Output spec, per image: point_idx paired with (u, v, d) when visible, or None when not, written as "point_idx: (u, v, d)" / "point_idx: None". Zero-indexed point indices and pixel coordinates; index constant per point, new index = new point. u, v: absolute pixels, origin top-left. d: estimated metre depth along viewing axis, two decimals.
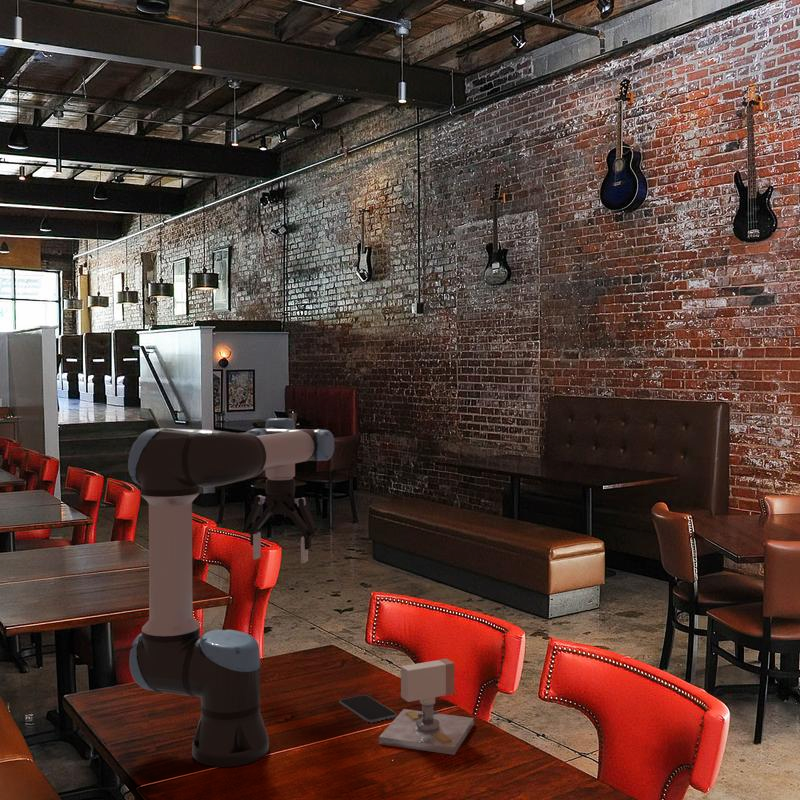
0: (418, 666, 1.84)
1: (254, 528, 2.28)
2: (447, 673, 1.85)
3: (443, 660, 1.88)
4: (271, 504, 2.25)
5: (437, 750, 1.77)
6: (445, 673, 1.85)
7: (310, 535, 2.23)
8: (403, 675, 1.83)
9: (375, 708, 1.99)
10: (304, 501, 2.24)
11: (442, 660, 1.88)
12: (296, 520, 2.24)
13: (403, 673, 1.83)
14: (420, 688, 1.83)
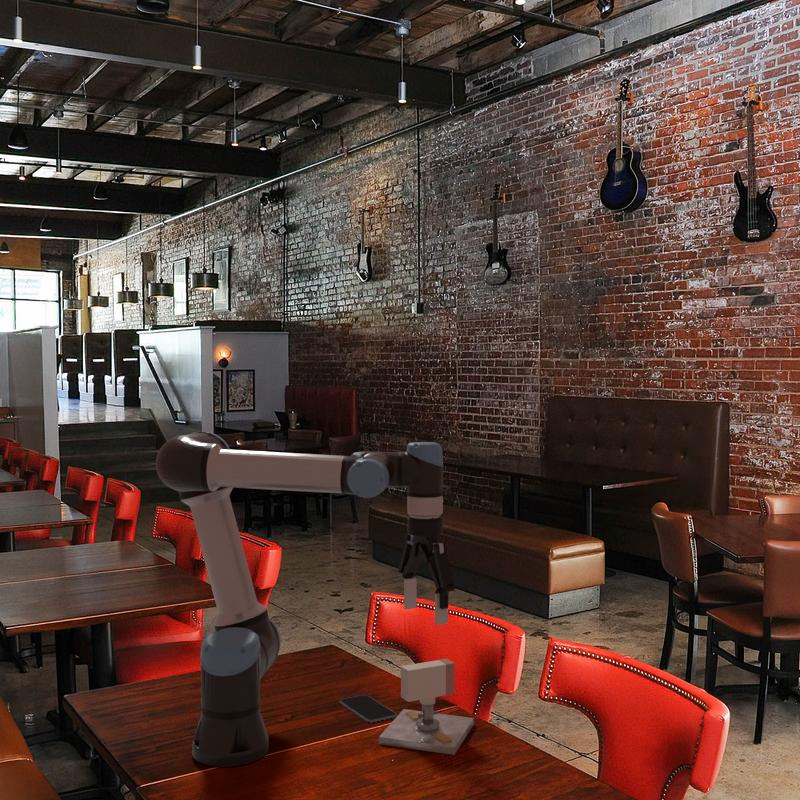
0: (418, 666, 1.84)
1: (405, 572, 1.91)
2: (447, 673, 1.85)
3: (443, 660, 1.88)
4: (413, 546, 1.86)
5: (437, 750, 1.77)
6: (445, 673, 1.85)
7: (443, 592, 1.78)
8: (403, 675, 1.83)
9: (375, 708, 1.99)
10: (441, 547, 1.79)
11: (442, 660, 1.88)
12: (432, 570, 1.80)
13: (403, 673, 1.83)
14: (420, 688, 1.83)
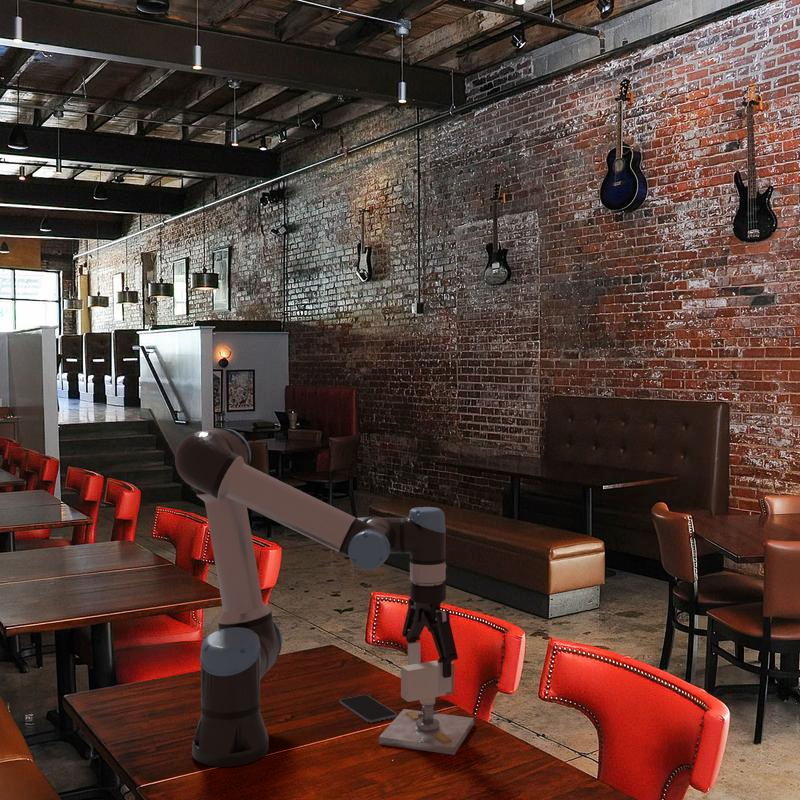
0: (418, 666, 1.84)
1: (408, 636, 1.91)
2: None
3: None
4: (416, 612, 1.86)
5: (437, 750, 1.77)
6: None
7: (446, 661, 1.77)
8: (403, 675, 1.83)
9: (375, 708, 1.99)
10: (444, 615, 1.79)
11: None
12: (435, 638, 1.80)
13: (403, 673, 1.83)
14: (420, 688, 1.83)
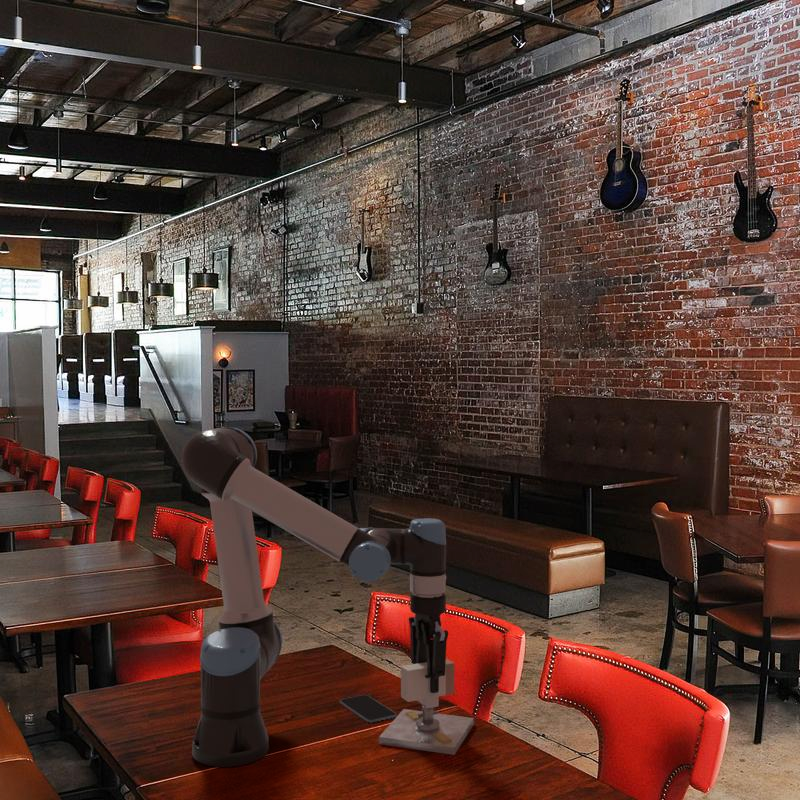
0: (418, 666, 1.84)
1: (417, 661, 1.87)
2: (447, 673, 1.85)
3: None
4: (416, 624, 1.85)
5: (437, 750, 1.77)
6: (445, 673, 1.85)
7: (433, 678, 1.82)
8: (403, 675, 1.83)
9: (375, 708, 1.99)
10: (442, 636, 1.79)
11: None
12: (428, 653, 1.82)
13: (403, 673, 1.83)
14: (420, 688, 1.83)
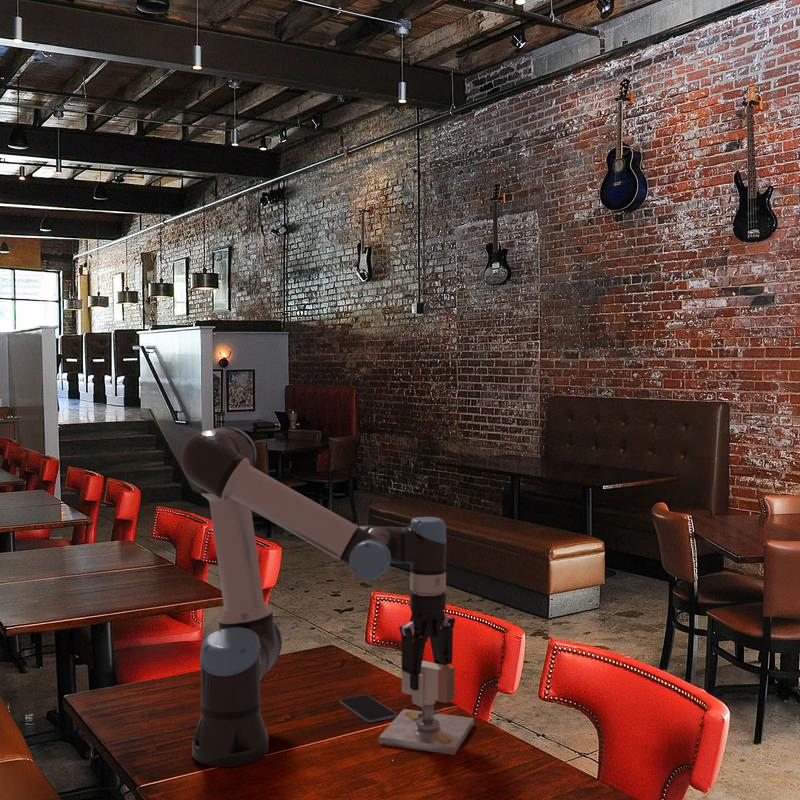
0: None
1: None
2: (439, 678, 1.82)
3: (447, 666, 1.84)
4: None
5: (437, 750, 1.77)
6: (437, 678, 1.82)
7: None
8: None
9: (375, 708, 1.99)
10: (403, 631, 1.81)
11: (445, 666, 1.84)
12: None
13: None
14: None
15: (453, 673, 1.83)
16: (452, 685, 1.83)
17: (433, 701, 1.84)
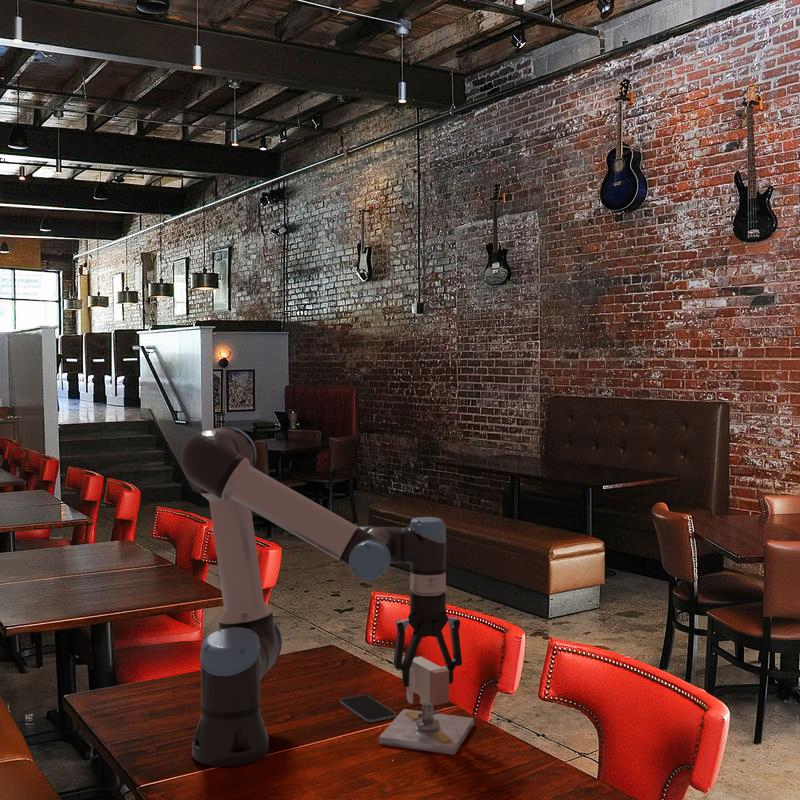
0: (419, 661, 1.87)
1: None
2: (430, 680, 1.81)
3: (442, 669, 1.82)
4: None
5: (437, 750, 1.77)
6: (429, 679, 1.82)
7: None
8: None
9: (375, 708, 1.99)
10: (396, 626, 1.84)
11: (440, 669, 1.82)
12: None
13: None
14: (415, 682, 1.87)
15: (447, 676, 1.81)
16: (445, 689, 1.81)
17: None
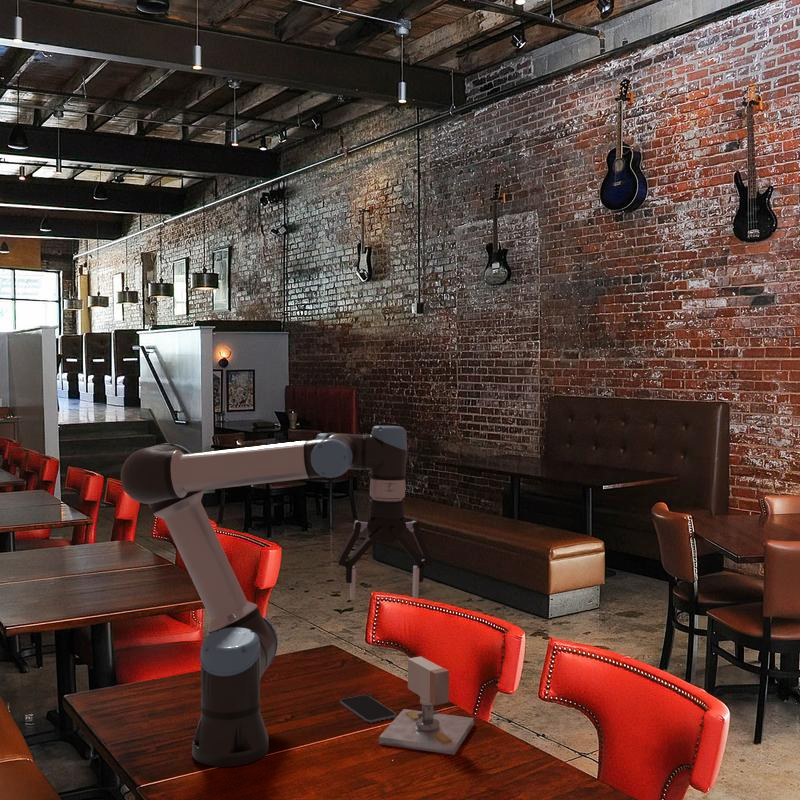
0: (420, 661, 1.87)
1: None
2: (430, 680, 1.81)
3: (442, 669, 1.82)
4: None
5: (437, 750, 1.77)
6: (429, 679, 1.82)
7: None
8: None
9: (375, 708, 1.99)
10: (354, 524, 1.86)
11: (440, 669, 1.82)
12: None
13: None
14: (415, 682, 1.87)
15: (447, 676, 1.81)
16: (445, 689, 1.81)
17: None
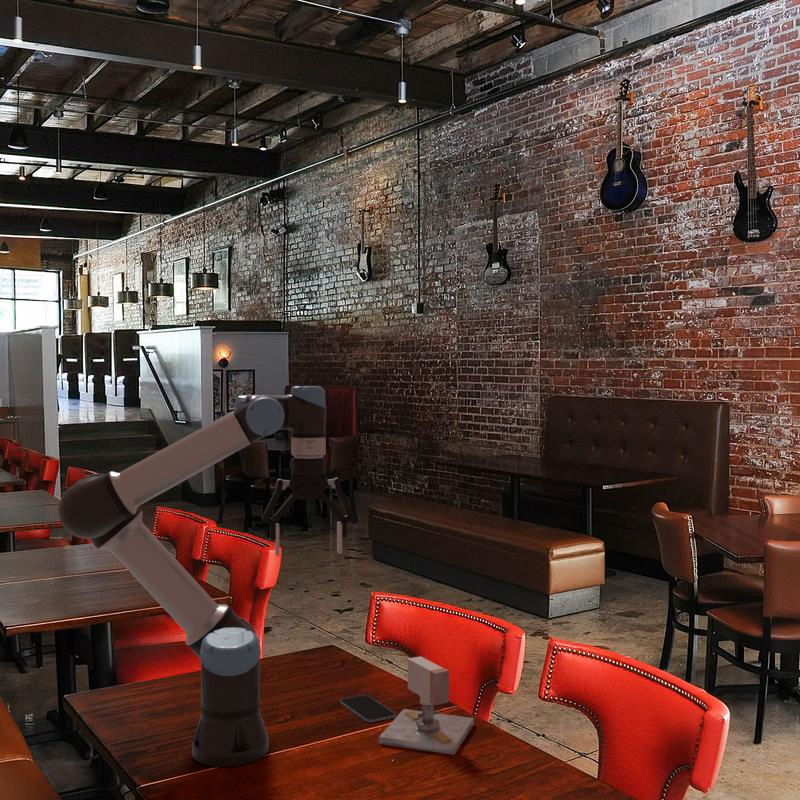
0: (420, 661, 1.87)
1: None
2: (430, 680, 1.81)
3: (442, 669, 1.82)
4: None
5: (437, 750, 1.77)
6: (429, 679, 1.82)
7: None
8: None
9: (375, 708, 1.99)
10: None
11: (440, 669, 1.82)
12: None
13: None
14: (415, 682, 1.87)
15: (447, 676, 1.81)
16: (445, 689, 1.81)
17: None
